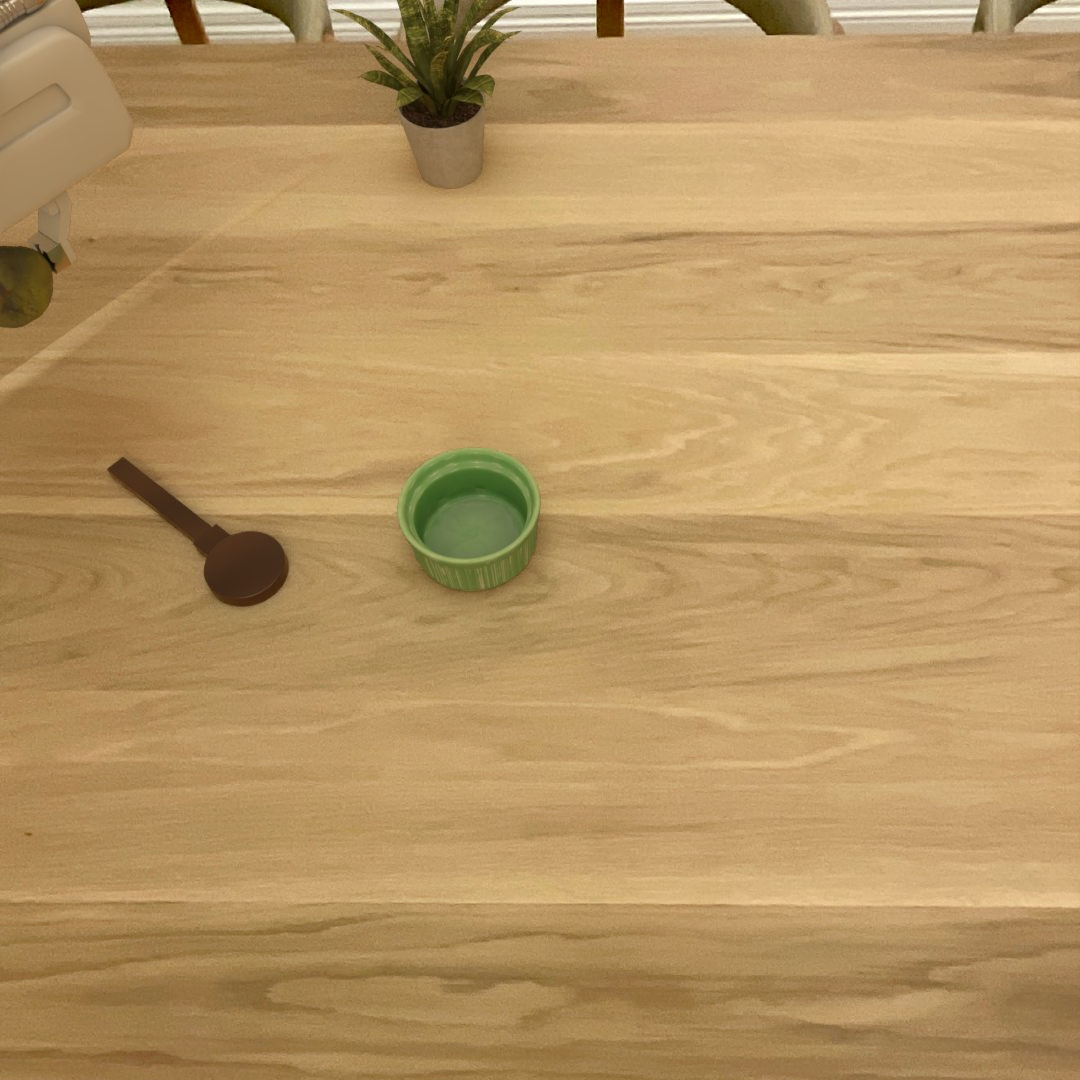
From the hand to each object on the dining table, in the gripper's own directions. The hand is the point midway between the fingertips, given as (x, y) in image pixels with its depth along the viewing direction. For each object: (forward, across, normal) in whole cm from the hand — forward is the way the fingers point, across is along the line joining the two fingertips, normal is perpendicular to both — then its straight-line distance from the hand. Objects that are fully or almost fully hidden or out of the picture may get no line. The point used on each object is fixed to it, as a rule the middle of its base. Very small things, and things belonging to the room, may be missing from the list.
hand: (14, 295), depth 65 cm
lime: (+2, 0, 0) cm, 2 cm away
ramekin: (+18, -11, +22) cm, 30 cm away
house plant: (+18, -38, -4) cm, 42 cm away
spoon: (+18, 0, +7) cm, 19 cm away
